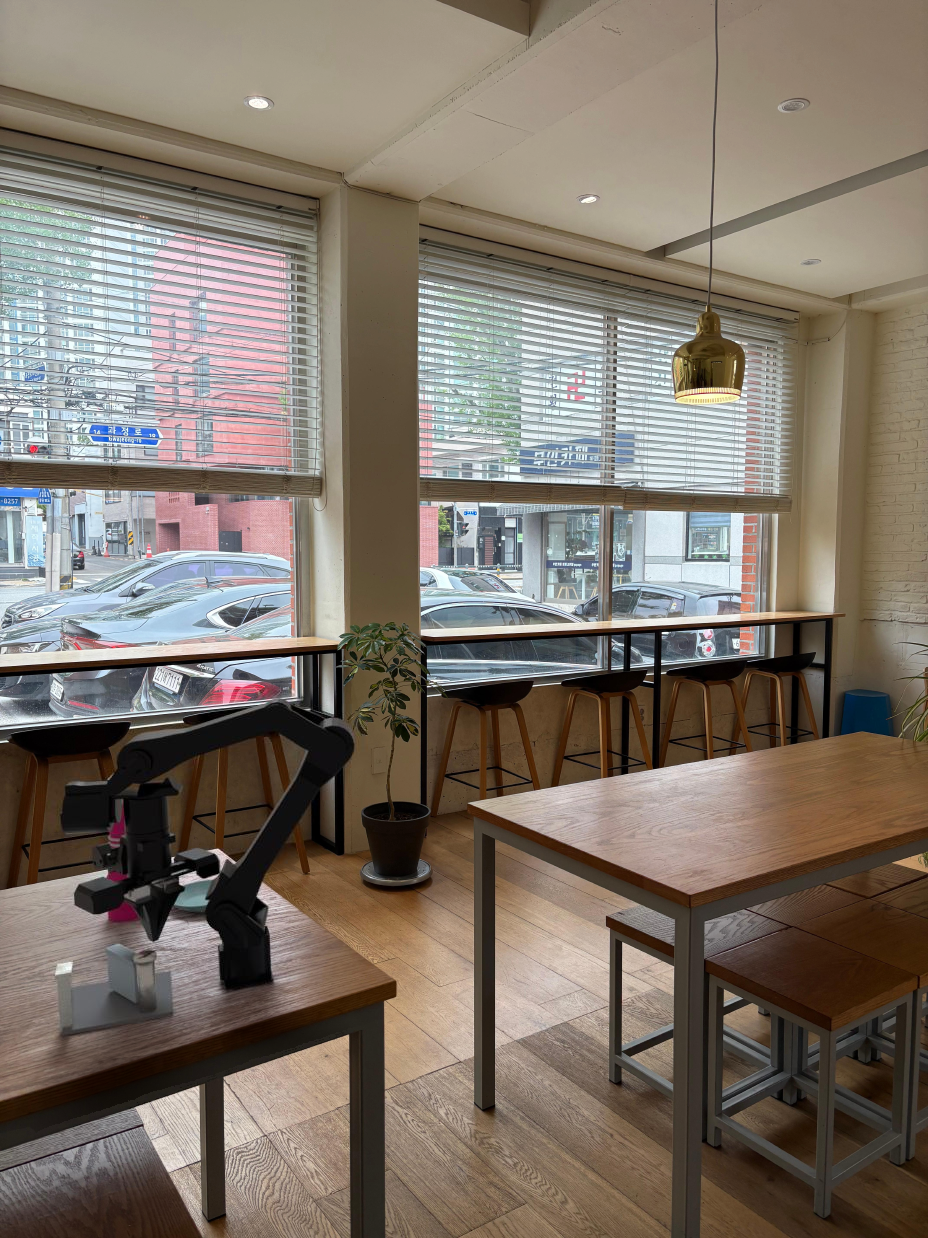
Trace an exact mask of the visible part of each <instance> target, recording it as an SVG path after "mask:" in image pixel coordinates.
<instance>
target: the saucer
mask: <svg viewBox="0 0 928 1238" xmlns="http://www.w3.org/2000/svg"><path fill="white" fill-rule="evenodd" d="M212 880H213V879H203V880H198V881H194V882H190V883H186V884H183V885H182V886H184V887H185V891H184V892H182V893H180V894H179V896H178V898H177V900H176V902H175V904H174V906H173V907H175V908H177V909H179V910H181V911H184V912H188V913H205V909H206V906H207V903H208V901H209V900H205V897H206V895H207V892H208V889H209V887H210V884H211V881H212Z"/></svg>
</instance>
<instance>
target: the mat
mask: <svg viewBox="0 0 928 1238" xmlns="http://www.w3.org/2000/svg"><path fill="white" fill-rule="evenodd" d="M155 978H156V998H157V1008H156V1010H154V1011H152V1012H149V1013H141V1012H139V1005H138V1003H134V1002H133V1001H131V1000H129V999H127V998H126V997H124V996H122V995H121V994H119V993H117V992H116V991H114V990H112V989H111V988H109V980H108V981H102V982H97V983H92V984H86V985H85V984H83V985H80V986H79V985H78V986H74V987H73V1003H74V1022H73V1028H68V1029H62V1034H61V1036H62V1037H64V1036H69V1035H75V1034H80V1033H86V1032H90V1031H96V1030H101V1029H107V1028H112V1027H118V1026H124V1025H129V1024H135V1023H139V1022H144V1021H145V1022H146V1021H151V1020H155V1019H156V1020H157V1019H160V1018H161V1019H162V1018H167V1017H173V1016H174V1011H173V1010H174V1008H173V992H172V990H173V989H172V976H171V970H169V971H161V972H158V973H156V972H155Z"/></svg>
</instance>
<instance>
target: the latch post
mask: <svg viewBox="0 0 928 1238" xmlns="http://www.w3.org/2000/svg"><path fill="white" fill-rule="evenodd" d="M73 969H74V961H68V962H63V963H62V962H61V963H57V965H56V969H55V973H54V980H56V981H57V997H58V998H57V999H58V1014H59V1015H58V1017H59V1033H60V1034H61V1035H62V1029H68V1028H73V1022H74V1003H73V971H74V970H73Z"/></svg>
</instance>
